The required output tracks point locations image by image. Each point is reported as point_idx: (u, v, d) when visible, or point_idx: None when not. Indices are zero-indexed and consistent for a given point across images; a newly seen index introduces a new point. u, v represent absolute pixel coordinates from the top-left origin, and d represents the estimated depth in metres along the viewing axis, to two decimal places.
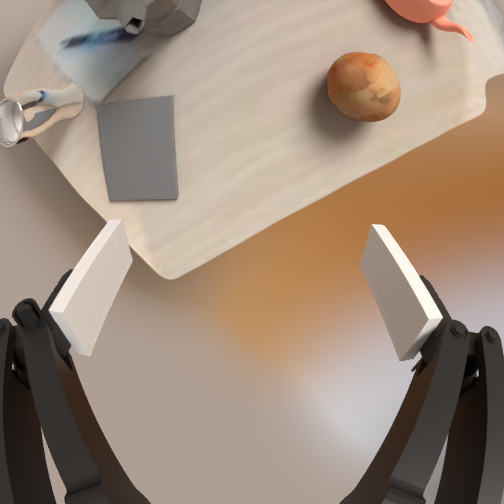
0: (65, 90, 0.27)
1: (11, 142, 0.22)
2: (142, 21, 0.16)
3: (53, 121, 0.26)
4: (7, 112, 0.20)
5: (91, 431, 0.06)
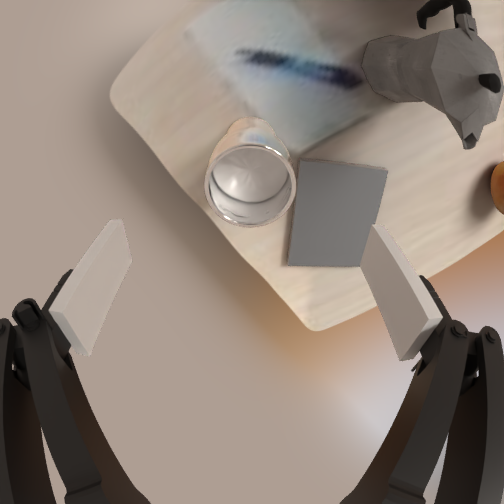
0: None
1: (233, 213, 0.22)
2: (474, 140, 0.16)
3: None
4: None
5: (91, 431, 0.06)
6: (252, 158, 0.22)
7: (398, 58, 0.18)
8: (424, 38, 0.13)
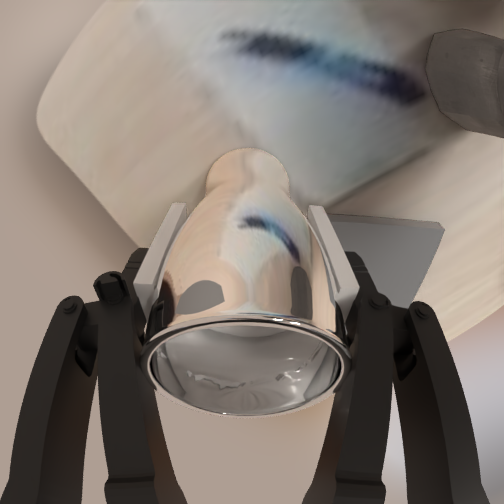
0: (278, 181, 0.16)
1: (213, 384, 0.10)
2: None
3: None
4: None
5: (152, 420, 0.06)
6: None
7: (501, 70, 0.07)
8: None
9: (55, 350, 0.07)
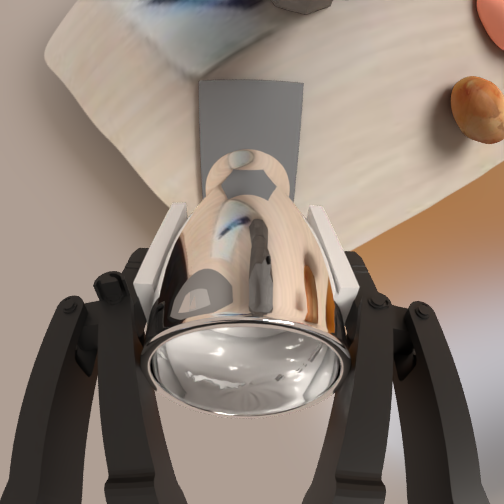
0: (278, 182, 0.16)
1: (214, 385, 0.10)
2: None
3: None
4: None
5: (152, 420, 0.06)
6: None
7: None
8: None
9: (55, 350, 0.07)
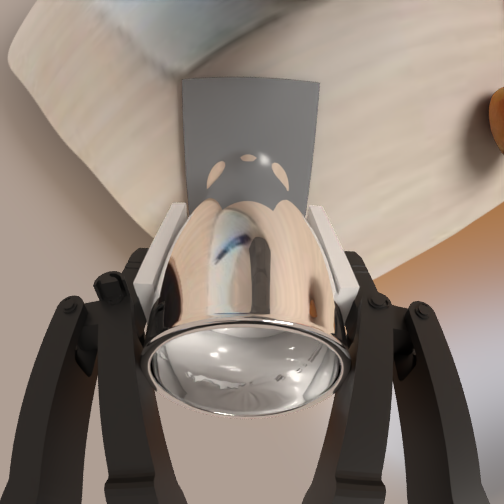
0: (278, 182, 0.16)
1: (214, 385, 0.10)
2: None
3: None
4: None
5: (152, 420, 0.06)
6: None
7: None
8: None
9: (55, 350, 0.07)
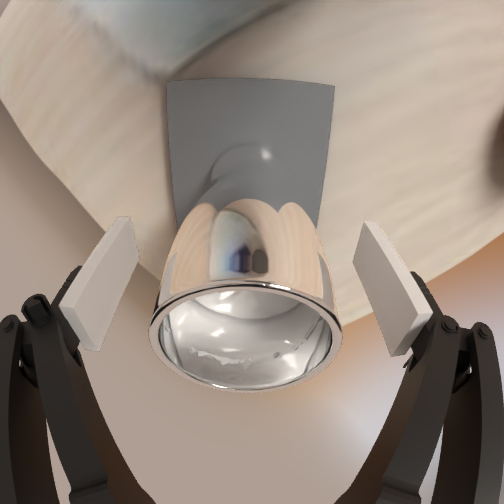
0: (278, 175, 0.17)
1: (215, 361, 0.12)
2: None
3: None
4: None
5: (98, 429, 0.06)
6: None
7: None
8: None
9: (2, 366, 0.06)
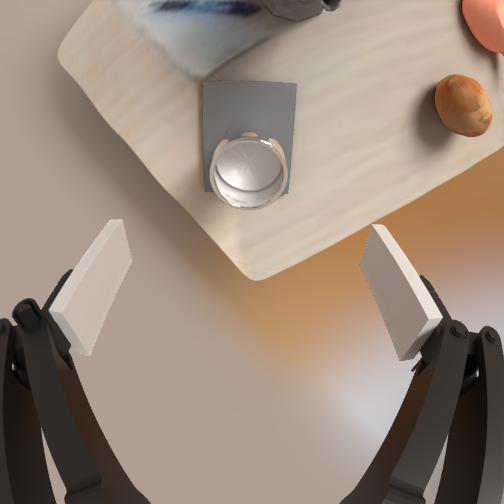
0: None
1: (233, 199, 0.25)
2: (337, 1, 0.14)
3: None
4: None
5: (91, 431, 0.06)
6: (250, 152, 0.25)
7: None
8: None
9: None
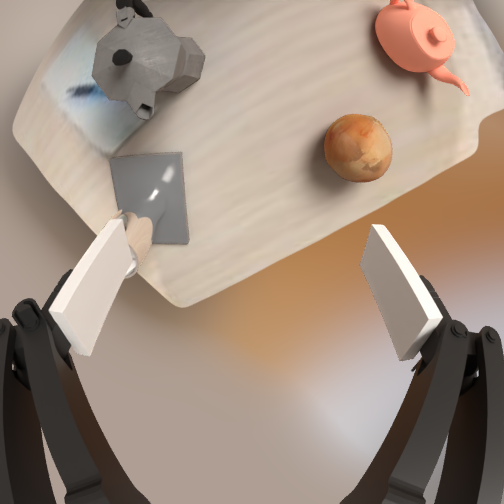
0: (152, 201, 0.38)
1: None
2: (152, 107, 0.22)
3: None
4: None
5: (91, 431, 0.06)
6: None
7: None
8: None
9: None
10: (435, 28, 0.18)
